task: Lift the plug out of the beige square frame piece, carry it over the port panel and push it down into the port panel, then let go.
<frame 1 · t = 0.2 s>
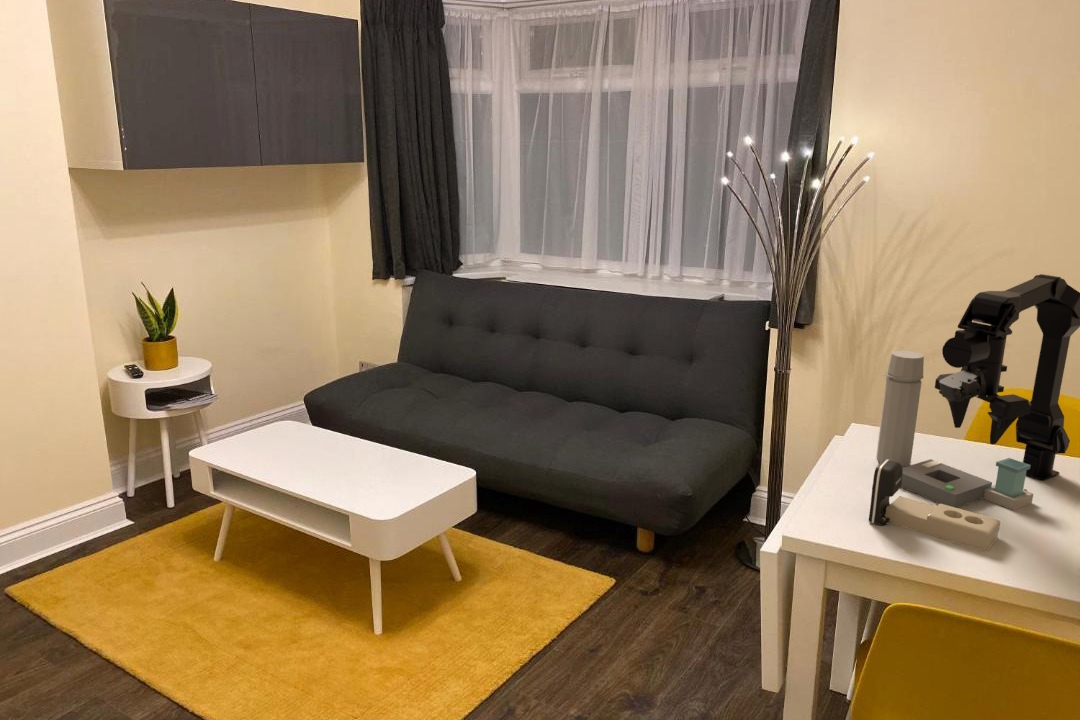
hand: (974, 435, 169), 14 cm above the table, tool pointing down, fingers open, 9 cm apart
water bottle: (891, 462, 193), on the table
port panel: (940, 489, 178), on the table
plug: (1010, 482, 172), in the beige square frame piece
beige square frame piece: (1007, 500, 173), on the table
electrical outlet: (939, 532, 161), on the table, touching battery
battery: (883, 520, 165), on the table, touching electrical outlet
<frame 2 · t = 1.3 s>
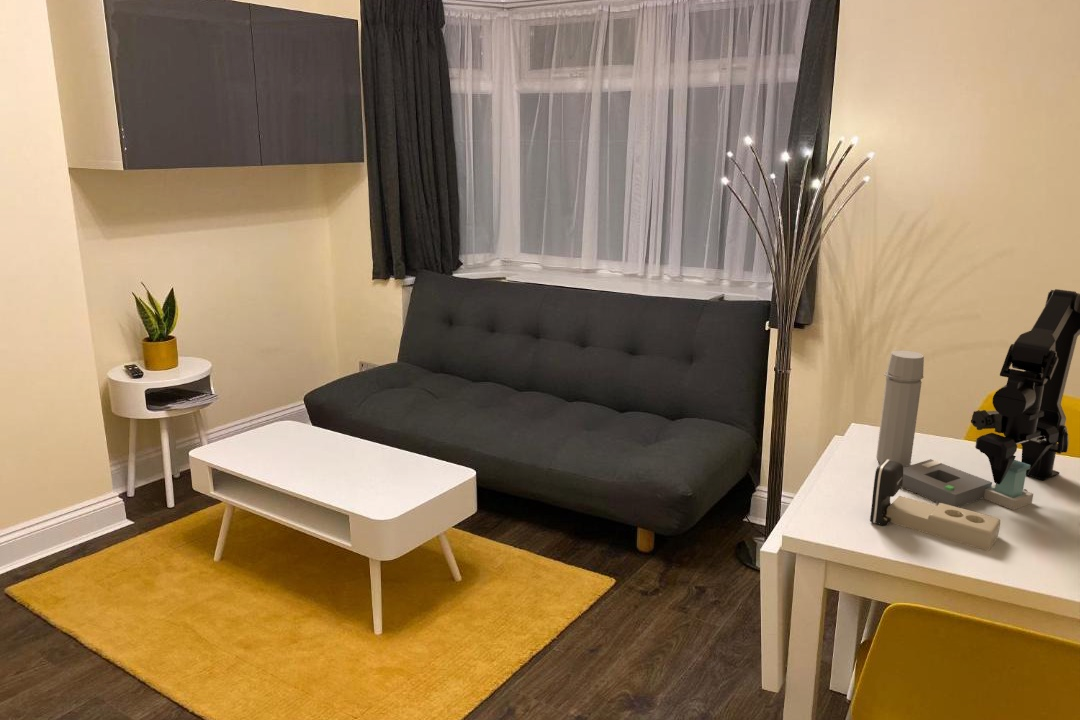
hand: (1010, 478, 172), 5 cm above the table, tool pointing down, fingers open, 9 cm apart
electrical outlet: (940, 531, 162), on the table
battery: (884, 520, 165), on the table
everything else where it was.
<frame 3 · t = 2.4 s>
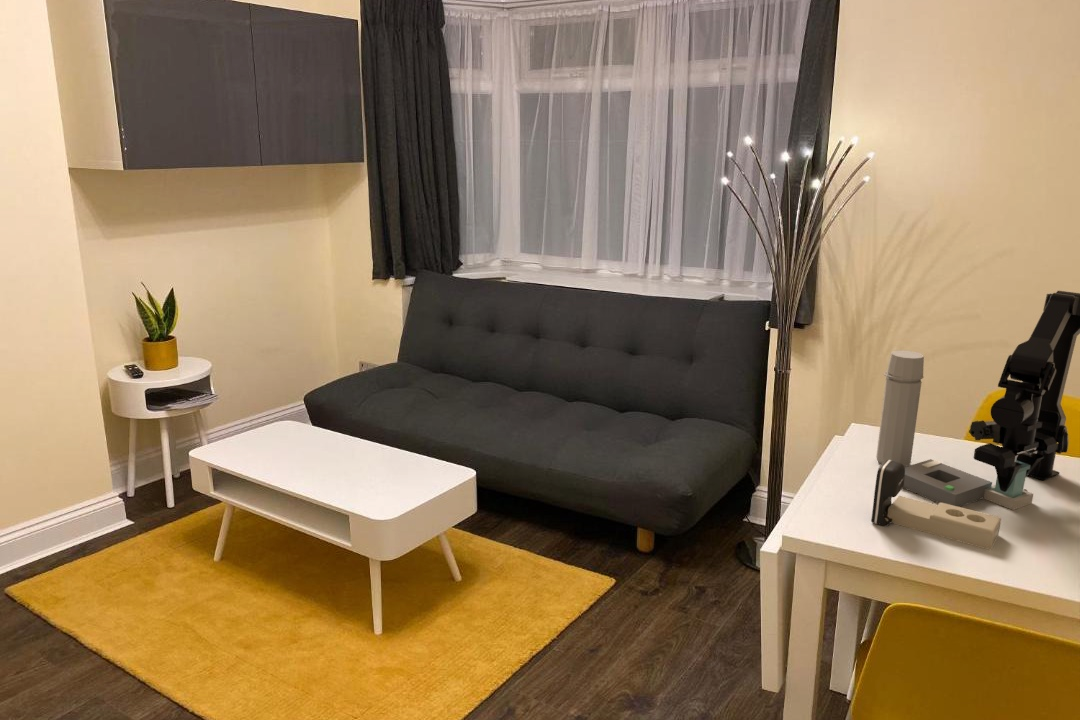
hand: (1009, 488, 173), 3 cm above the table, tool pointing down, fingers closed on plug, 4 cm apart
plug: (1010, 482, 172), in the beige square frame piece, touching gripper
electrical outlet: (941, 531, 162), on the table, touching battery
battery: (885, 521, 165), on the table, touching electrical outlet
everything else where it was.
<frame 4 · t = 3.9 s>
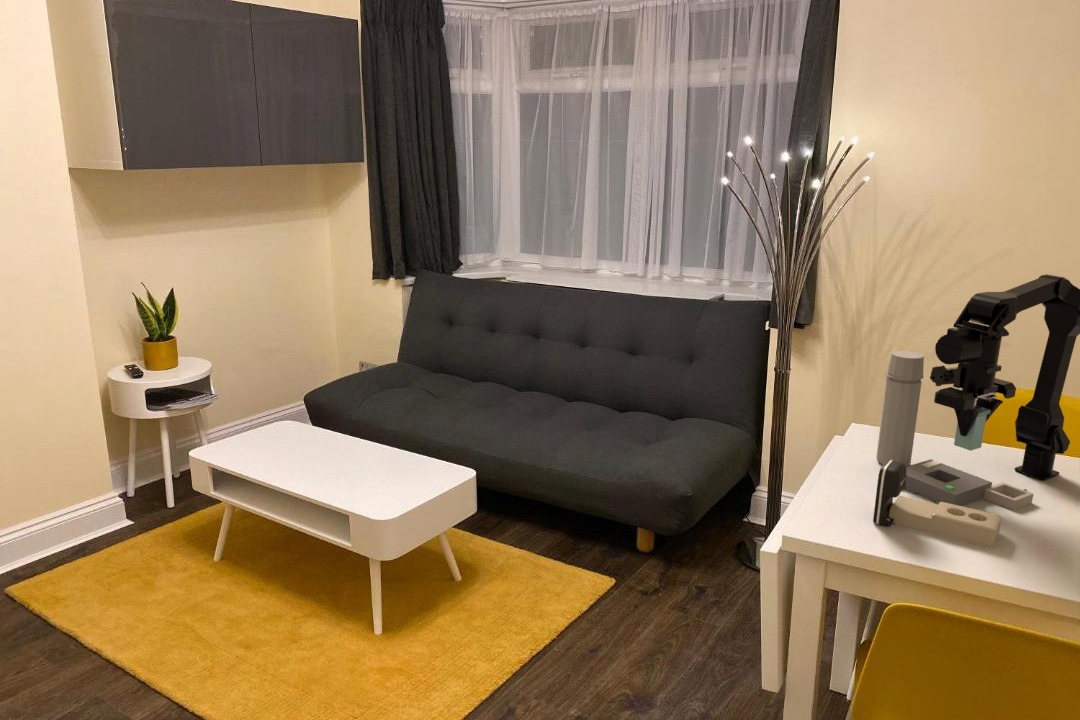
hand: (968, 434, 173), 13 cm above the table, tool pointing down, fingers closed on plug, 4 cm apart
plug: (970, 427, 172), point 14 cm above the table, touching gripper
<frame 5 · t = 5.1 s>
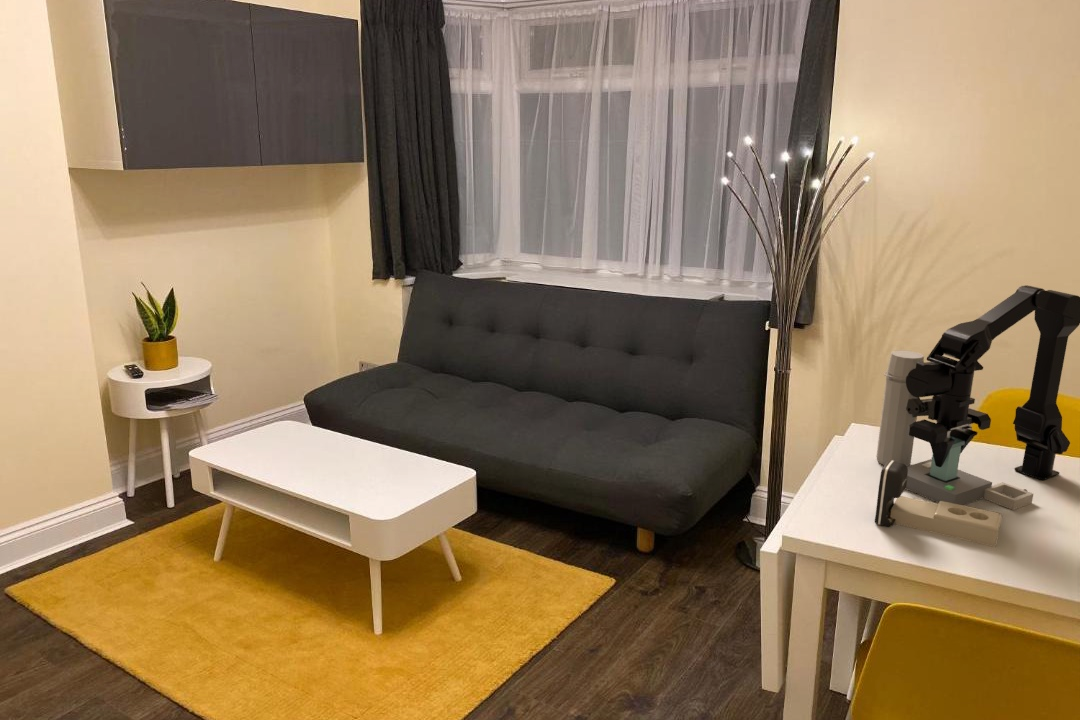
hand: (944, 464, 177), 6 cm above the table, tool pointing down, fingers closed on plug, 4 cm apart
plug: (945, 457, 176), point 7 cm above the table, touching gripper
when the fingers open (4 cm above the table, at t = 5.7 s): plug drops 1 cm, resting in port panel.
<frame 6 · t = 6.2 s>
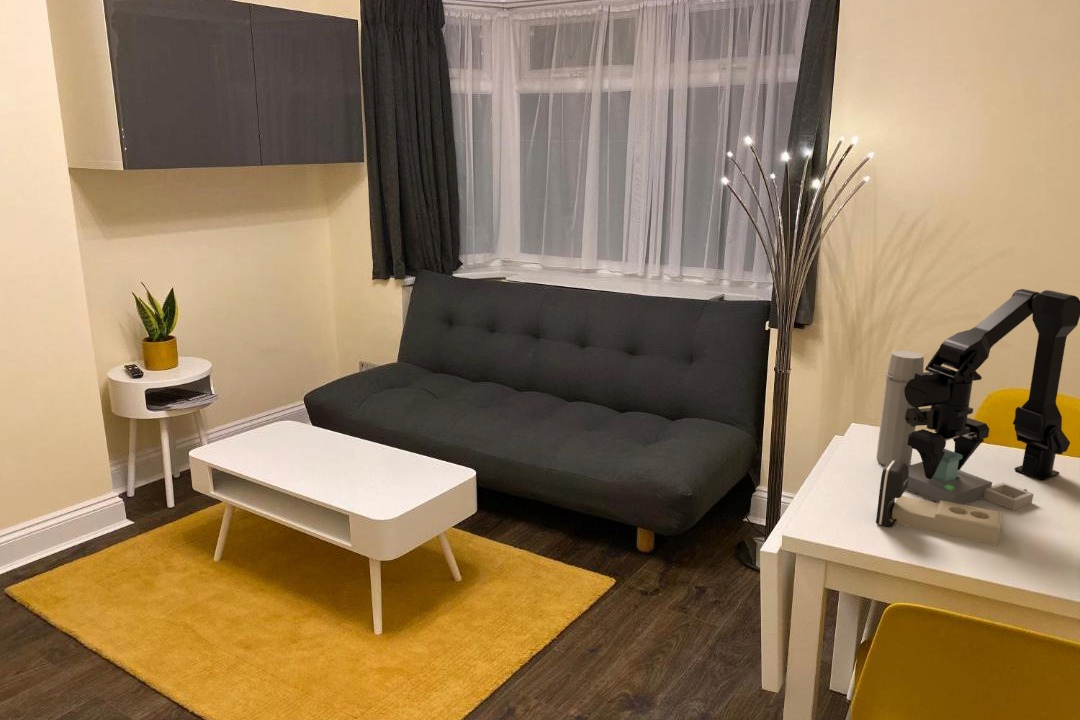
hand: (942, 473, 177), 4 cm above the table, tool pointing down, fingers open, 9 cm apart
plug: (943, 471, 177), in the port panel
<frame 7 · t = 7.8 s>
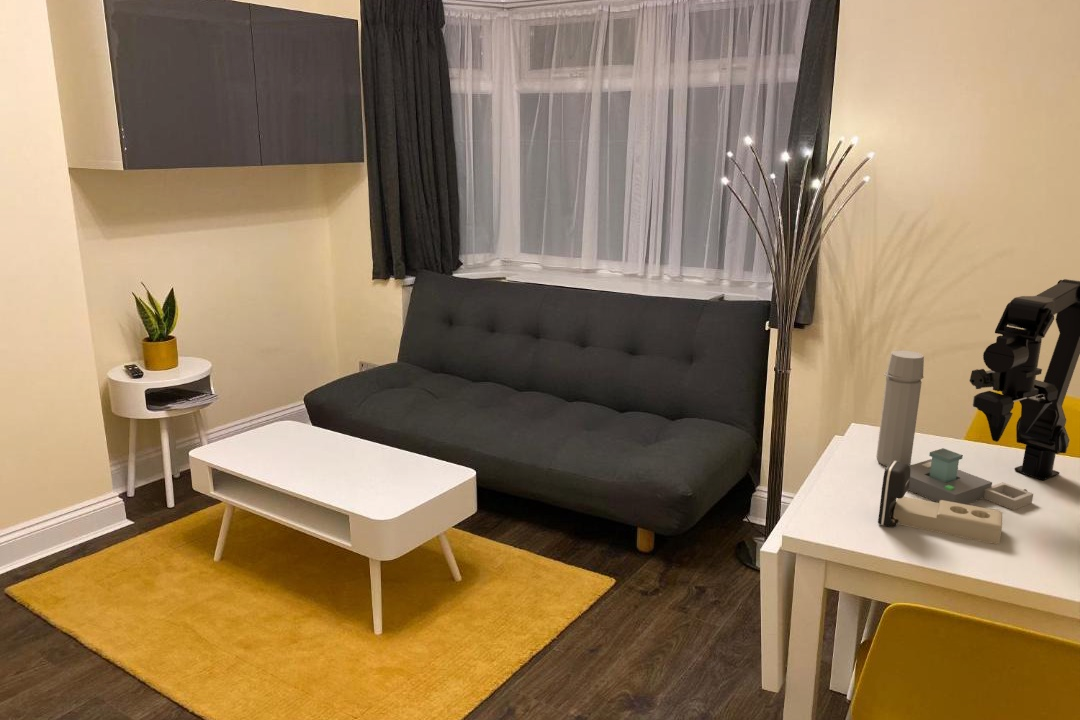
hand: (1009, 436, 174), 12 cm above the table, tool pointing down, fingers open, 9 cm apart
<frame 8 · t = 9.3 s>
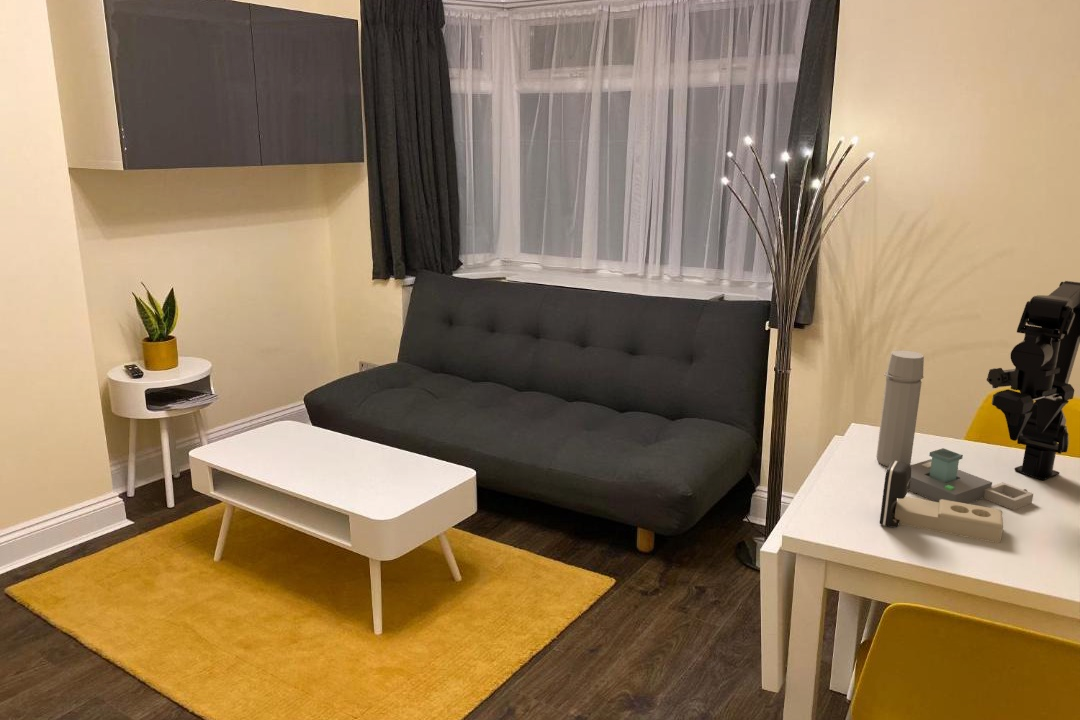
hand: (1026, 436, 173), 13 cm above the table, tool pointing down, fingers open, 9 cm apart
at the end: plug 0.1 cm off-centre on the port panel, point 4.0 cm above the port panel's base; plug tilted 0°; the gripper is holding nothing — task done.
